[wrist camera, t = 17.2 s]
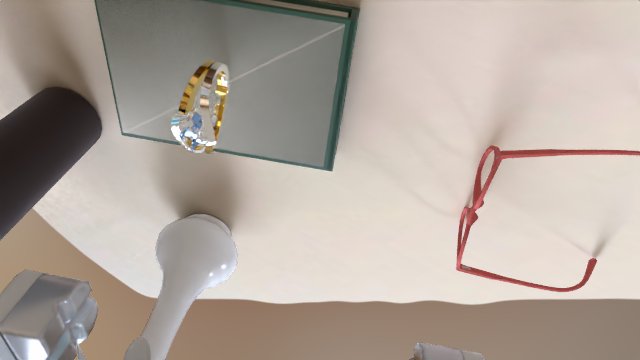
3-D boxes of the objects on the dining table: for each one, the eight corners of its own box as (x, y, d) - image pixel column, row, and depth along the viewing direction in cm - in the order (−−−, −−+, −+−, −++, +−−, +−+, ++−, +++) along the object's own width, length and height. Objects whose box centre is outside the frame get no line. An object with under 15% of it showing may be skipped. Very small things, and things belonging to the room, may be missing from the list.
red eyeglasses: (487, 110, 38) (498, 142, 34) (680, 132, 37) (714, 167, 33) (441, 247, 49) (445, 283, 45) (590, 267, 48) (607, 305, 44)
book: (360, 8, 34) (357, 20, 32) (335, 153, 43) (332, 171, 40) (109, -32, 35) (89, -23, 32) (136, 119, 43) (121, 135, 41)
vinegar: (116, 137, 45) (-30, 296, 30) (65, 149, 47) (-97, 304, 32) (76, 78, 41) (-116, 224, 26) (22, 93, 43) (-186, 238, 28)
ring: (209, 41, 34) (168, 86, 28) (249, 52, 34) (217, 100, 28) (202, 115, 38) (166, 169, 32) (238, 125, 39) (208, 181, 32)
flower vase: (111, 199, 51) (-64, 423, 32) (259, 186, 47) (162, 436, 27) (158, 272, 59) (41, 490, 39) (289, 267, 54) (231, 508, 35)
